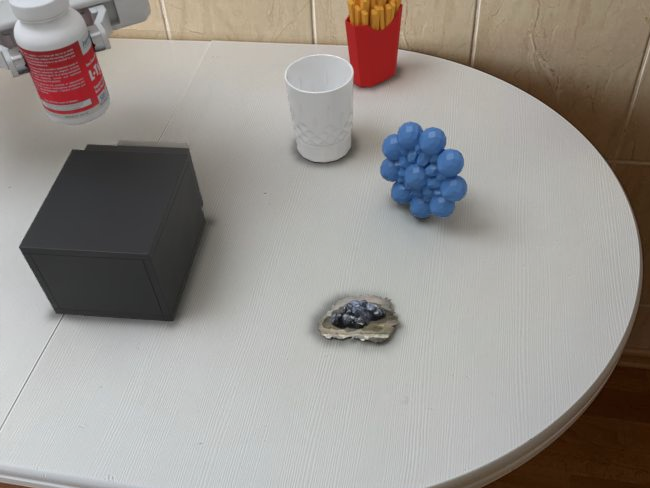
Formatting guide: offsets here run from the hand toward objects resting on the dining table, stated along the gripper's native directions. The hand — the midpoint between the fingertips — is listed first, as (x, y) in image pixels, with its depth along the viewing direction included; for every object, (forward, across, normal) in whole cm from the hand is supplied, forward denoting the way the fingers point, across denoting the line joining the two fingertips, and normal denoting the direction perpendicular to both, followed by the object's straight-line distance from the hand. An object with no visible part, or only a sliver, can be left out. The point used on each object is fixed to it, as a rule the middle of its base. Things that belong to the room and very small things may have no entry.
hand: (60, 55), depth 62 cm
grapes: (+14, -31, -22) cm, 40 cm away
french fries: (-13, -40, -22) cm, 47 cm away
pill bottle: (-1, 0, -6) cm, 6 cm away
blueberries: (+24, -16, -22) cm, 36 cm away
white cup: (-3, -26, -22) cm, 34 cm away
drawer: (+1, -2, -21) cm, 21 cm away
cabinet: (+5, +1, -22) cm, 22 cm away
